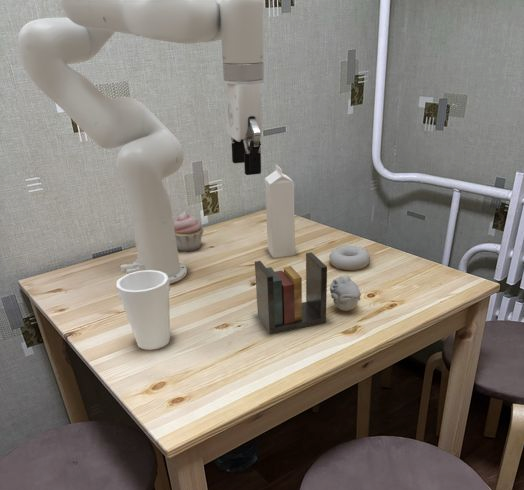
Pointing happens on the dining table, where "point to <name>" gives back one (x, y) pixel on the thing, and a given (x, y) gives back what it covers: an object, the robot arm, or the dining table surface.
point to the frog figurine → (345, 293)
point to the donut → (349, 257)
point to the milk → (280, 214)
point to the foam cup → (147, 306)
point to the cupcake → (188, 232)
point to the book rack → (291, 296)
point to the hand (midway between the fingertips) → (246, 168)
